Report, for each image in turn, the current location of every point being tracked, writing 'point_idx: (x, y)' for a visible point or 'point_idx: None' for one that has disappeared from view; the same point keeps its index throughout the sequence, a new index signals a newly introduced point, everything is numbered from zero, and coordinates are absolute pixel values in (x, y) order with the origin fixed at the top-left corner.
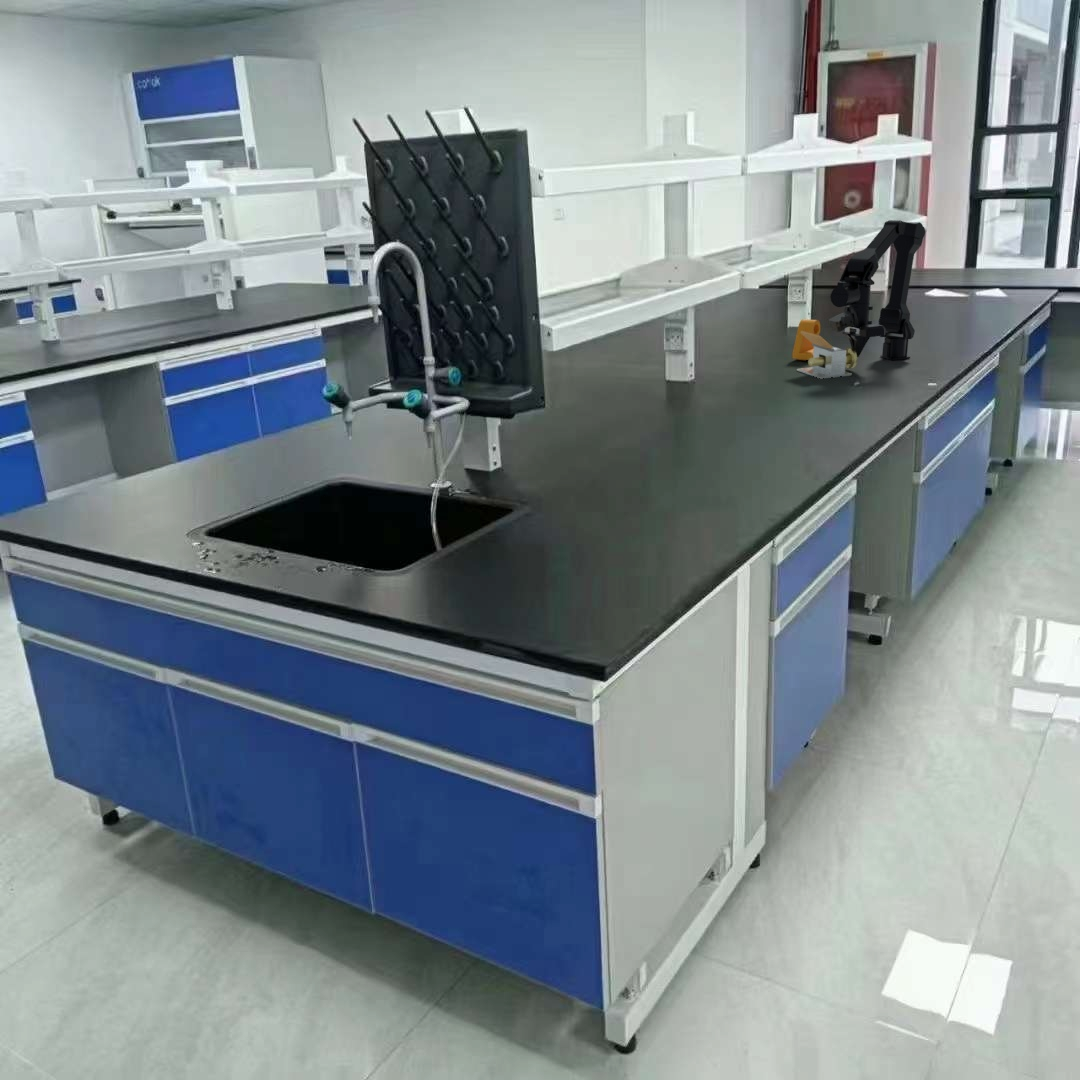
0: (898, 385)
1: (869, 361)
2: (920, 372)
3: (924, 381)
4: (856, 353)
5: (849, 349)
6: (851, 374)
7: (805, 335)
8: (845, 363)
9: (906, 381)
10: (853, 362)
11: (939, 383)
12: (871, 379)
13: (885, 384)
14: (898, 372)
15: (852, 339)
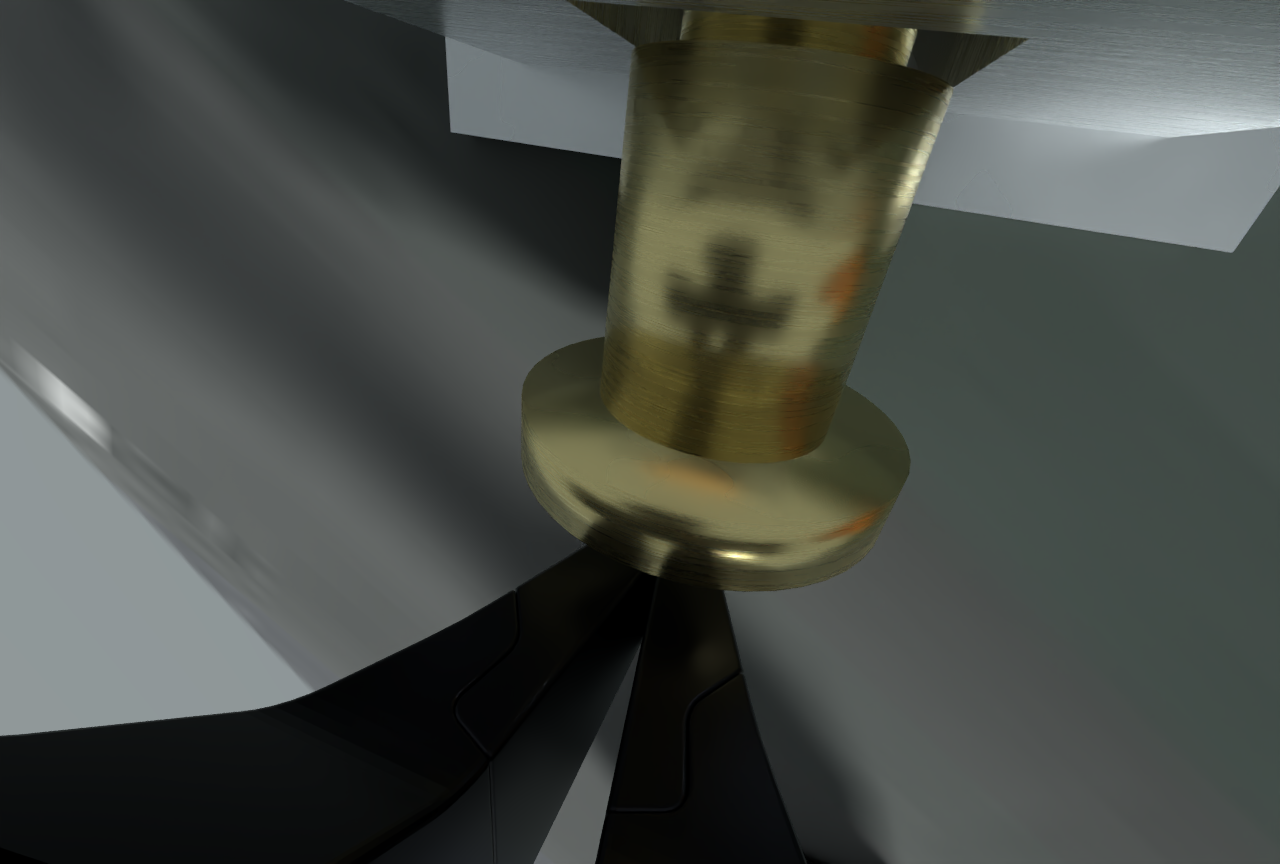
0: (14, 196)
1: (919, 789)
2: (376, 627)
3: (142, 439)
4: None
5: (660, 492)
6: (461, 129)
7: None
8: (416, 24)
9: (144, 357)
10: (577, 344)
11: (93, 452)
12: (234, 177)
13: (37, 125)
14: (422, 560)
15: (600, 846)
